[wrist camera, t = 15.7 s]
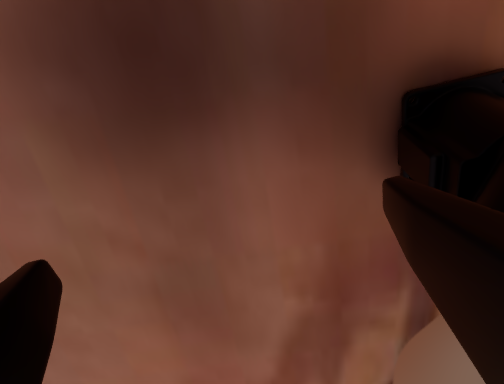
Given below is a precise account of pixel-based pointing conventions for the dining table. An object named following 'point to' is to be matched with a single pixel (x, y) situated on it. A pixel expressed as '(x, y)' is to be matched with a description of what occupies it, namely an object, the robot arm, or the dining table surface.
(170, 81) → the dining table surface
